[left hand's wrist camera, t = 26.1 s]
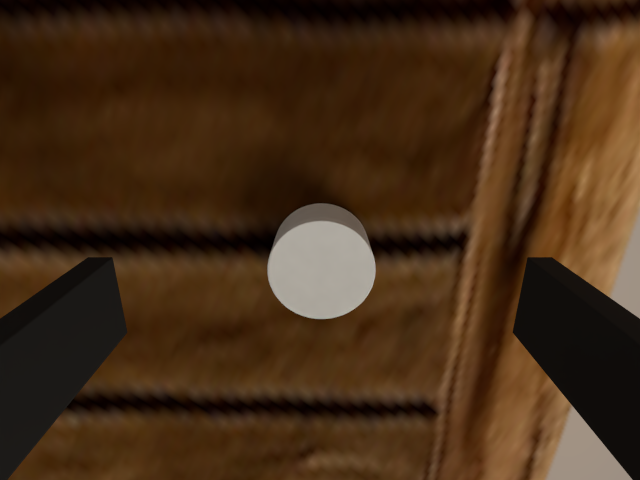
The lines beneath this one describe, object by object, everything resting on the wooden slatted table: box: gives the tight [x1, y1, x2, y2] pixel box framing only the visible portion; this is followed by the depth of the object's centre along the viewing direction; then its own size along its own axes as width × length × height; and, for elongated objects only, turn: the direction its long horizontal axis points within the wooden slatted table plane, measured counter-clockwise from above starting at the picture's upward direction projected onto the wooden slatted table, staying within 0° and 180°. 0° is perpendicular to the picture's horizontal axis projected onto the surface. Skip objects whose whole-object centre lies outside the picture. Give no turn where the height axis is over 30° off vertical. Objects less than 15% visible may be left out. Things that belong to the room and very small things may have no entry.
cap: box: [267, 203, 376, 319], centre depth 15 cm, size 4×4×2 cm
